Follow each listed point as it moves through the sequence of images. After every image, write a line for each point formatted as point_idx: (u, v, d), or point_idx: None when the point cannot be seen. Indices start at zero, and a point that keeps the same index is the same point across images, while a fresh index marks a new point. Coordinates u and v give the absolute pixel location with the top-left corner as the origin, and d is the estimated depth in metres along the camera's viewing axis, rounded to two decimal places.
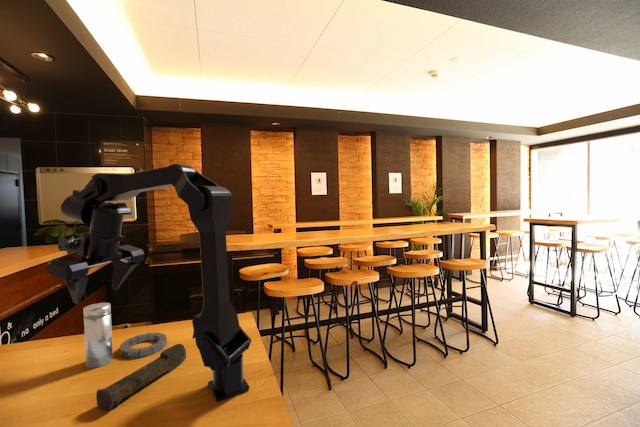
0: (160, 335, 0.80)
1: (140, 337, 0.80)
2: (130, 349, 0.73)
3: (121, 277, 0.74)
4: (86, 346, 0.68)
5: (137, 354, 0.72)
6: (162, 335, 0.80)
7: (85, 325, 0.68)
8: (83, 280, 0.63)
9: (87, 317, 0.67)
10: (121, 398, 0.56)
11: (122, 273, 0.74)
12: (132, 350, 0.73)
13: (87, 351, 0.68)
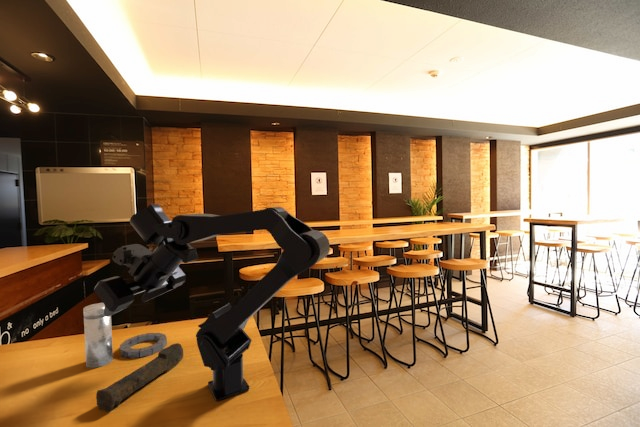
0: (160, 335, 0.80)
1: (140, 337, 0.80)
2: (130, 349, 0.73)
3: (154, 295, 0.71)
4: (86, 346, 0.68)
5: (137, 354, 0.72)
6: (162, 335, 0.80)
7: (85, 325, 0.68)
8: None
9: (87, 317, 0.67)
10: (122, 398, 0.56)
11: (157, 292, 0.71)
12: (132, 350, 0.73)
13: (87, 351, 0.68)
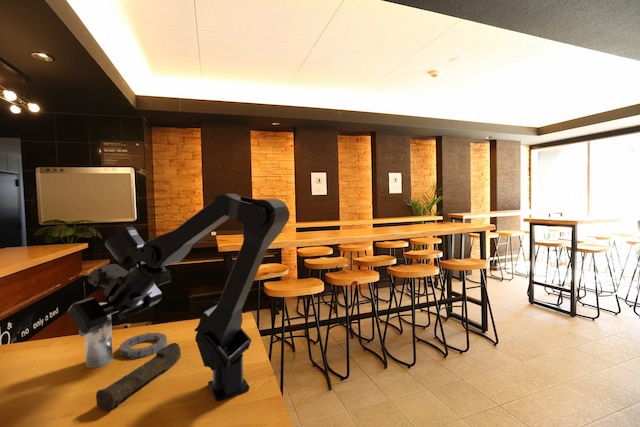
0: (160, 335, 0.80)
1: (140, 337, 0.80)
2: (130, 349, 0.73)
3: (131, 313, 0.73)
4: (86, 346, 0.68)
5: (137, 354, 0.72)
6: (162, 335, 0.80)
7: None
8: (97, 329, 0.62)
9: None
10: (122, 397, 0.56)
11: (133, 310, 0.73)
12: (132, 350, 0.73)
13: (87, 351, 0.68)
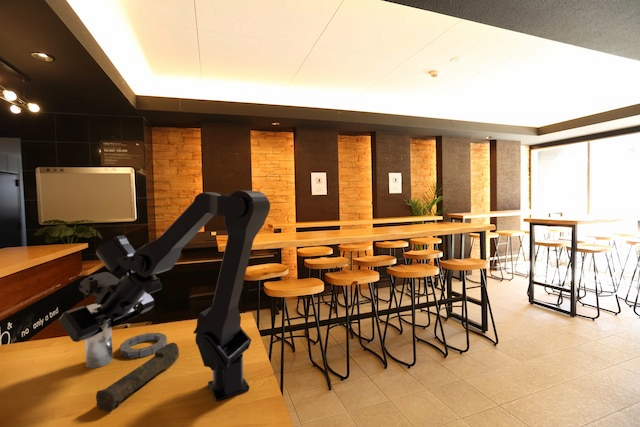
0: (160, 335, 0.80)
1: (140, 337, 0.80)
2: (130, 349, 0.73)
3: (116, 323, 0.72)
4: (86, 346, 0.68)
5: (137, 354, 0.72)
6: (162, 335, 0.80)
7: None
8: (97, 333, 0.65)
9: None
10: (122, 397, 0.56)
11: (119, 320, 0.72)
12: (132, 350, 0.73)
13: (87, 351, 0.68)
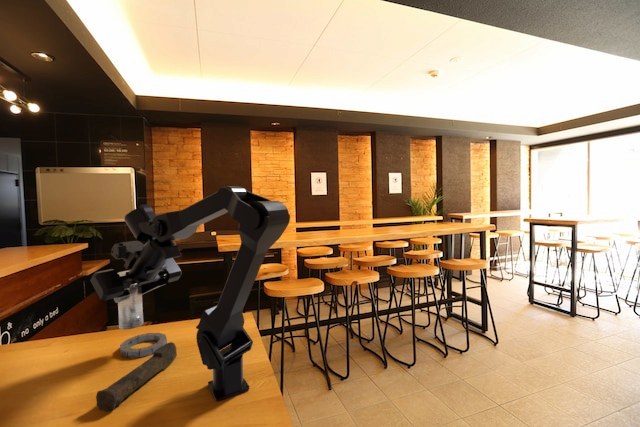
0: (160, 335, 0.80)
1: (140, 337, 0.80)
2: (130, 349, 0.73)
3: (146, 290, 0.76)
4: (118, 308, 0.73)
5: (137, 354, 0.72)
6: (162, 335, 0.80)
7: None
8: (125, 296, 0.68)
9: None
10: (122, 397, 0.56)
11: (148, 287, 0.76)
12: (132, 350, 0.73)
13: (119, 313, 0.73)
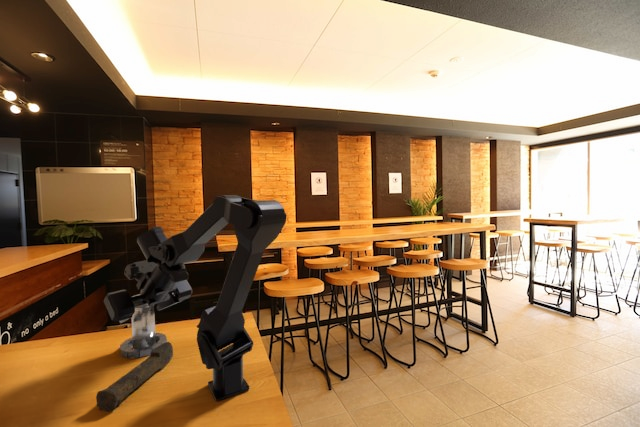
0: (160, 335, 0.80)
1: None
2: (130, 349, 0.73)
3: (165, 305, 0.79)
4: (132, 332, 0.75)
5: (137, 354, 0.72)
6: (162, 335, 0.80)
7: None
8: (127, 318, 0.69)
9: None
10: (123, 397, 0.56)
11: (167, 303, 0.79)
12: (132, 350, 0.73)
13: (133, 336, 0.75)
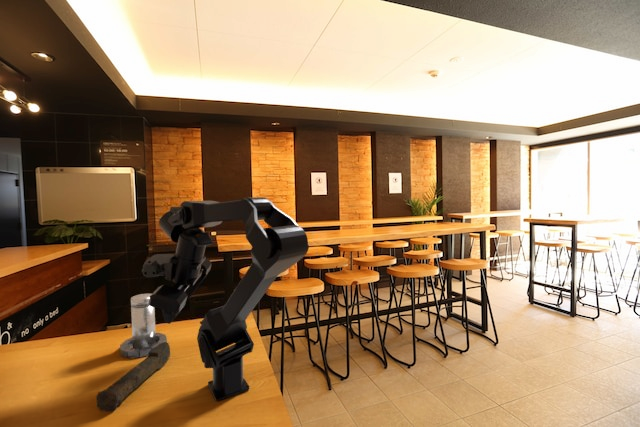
0: (160, 335, 0.80)
1: None
2: (130, 349, 0.73)
3: (194, 288, 0.76)
4: (132, 332, 0.75)
5: (137, 354, 0.72)
6: (162, 335, 0.80)
7: (131, 313, 0.75)
8: (182, 307, 0.65)
9: (133, 306, 0.74)
10: (123, 397, 0.56)
11: (195, 284, 0.76)
12: (132, 350, 0.73)
13: (133, 336, 0.75)
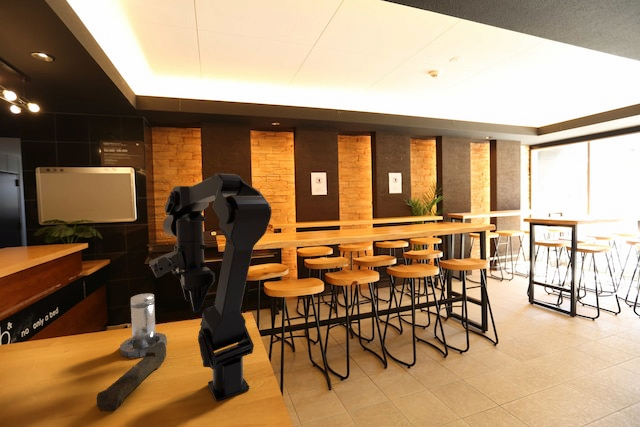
0: (160, 335, 0.80)
1: None
2: (130, 349, 0.73)
3: None
4: (132, 332, 0.75)
5: (137, 354, 0.72)
6: (162, 335, 0.80)
7: (131, 313, 0.75)
8: None
9: (132, 306, 0.74)
10: (124, 397, 0.56)
11: None
12: (132, 350, 0.73)
13: (133, 336, 0.75)
